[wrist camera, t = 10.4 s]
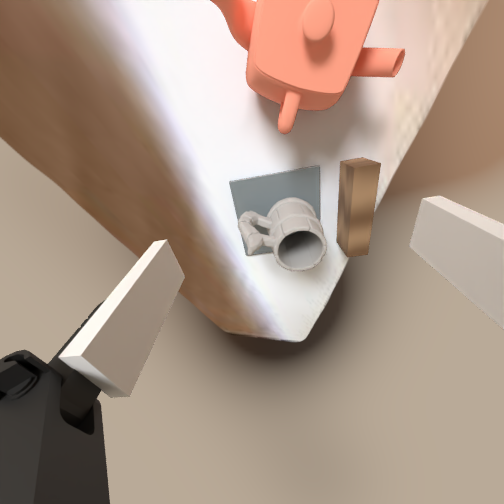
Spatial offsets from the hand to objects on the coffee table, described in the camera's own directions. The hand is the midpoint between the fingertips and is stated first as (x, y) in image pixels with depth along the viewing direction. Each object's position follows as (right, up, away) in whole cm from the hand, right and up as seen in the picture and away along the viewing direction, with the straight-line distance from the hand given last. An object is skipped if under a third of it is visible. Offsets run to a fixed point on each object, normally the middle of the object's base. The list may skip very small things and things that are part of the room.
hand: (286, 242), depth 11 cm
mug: (+2, +5, +22) cm, 22 cm away
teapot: (+3, +22, +12) cm, 25 cm away
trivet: (+2, +5, +22) cm, 23 cm away
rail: (+13, +7, +21) cm, 26 cm away
